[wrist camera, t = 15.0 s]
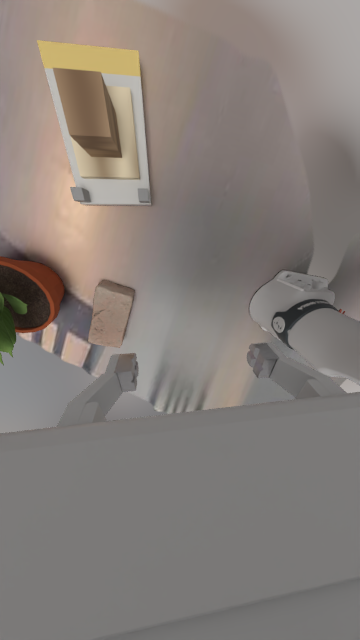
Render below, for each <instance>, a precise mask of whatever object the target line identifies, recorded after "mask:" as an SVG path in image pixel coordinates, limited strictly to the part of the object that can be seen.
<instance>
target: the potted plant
mask: <svg viewBox="0 0 360 640" xmlns="http://www.w3.org/2000/svg"><path fill="white" fill-rule="evenodd" d="M63 295H64V285H63V283H62V280H61V279H60V277H59V276H58V275H57V274H56V273H55V272H54V271H53V270H52V269H50V268H49V267H47V266H45V265H43V264H41V263H37V262H33V261H20V260H13V259H9V258H5V257H0V351H3V352H9V354H10V355H11V356H12V350H13V347H14V344H15V342H16V332H20V333H28V332H36V331H39V330H42V329H44V328H46V327H47V326H48V325H49V324H50V323H51V322H52V321H53V320H54V319H55V318H56V317H57V315H58V313H59V310H60V302H61V300H62V298H63ZM12 357H13V356H12ZM1 358H2V355H1V353H0V362H1V363H2V364H3V361H2V359H1ZM3 365H4V364H3Z"/></svg>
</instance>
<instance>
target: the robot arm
mask: <svg viewBox="0 0 360 640" xmlns="http://www.w3.org/2000/svg"><path fill="white" fill-rule="evenodd" d="M286 276H287V277H286ZM334 300H335V295H334V292H333V291H331V290H328V280H327V279H326V278H323V277H318V276H313V275H308V274H303V273H297V272H292V271H287V270H282V271H280V272H279V273H278V274H277V275H276V276H275V277H274V279H273V280H271V281H270V282H268V283H267V284H265V285H264V286H262V287H261V288H260V289H259V290H258V291H257V292H256V294H255V295H254V297H253V298H252V300H251V303H250V308H249V311H250V315H251V317H252V319H253V320H254V321H256V322H257V323H259V325H260V327H261V328H262V329H263V330H264V331H268V332H270V333H271V334H272V335H274V336H275V337H276V338H278V339H279V340H281V341H282V342H283V343H284V344H285V345H286V346H288V347H289V348H291V349H293V350H295V351H296V352H297V353H298V354H299V355H300V356H302V357H303V358H304V359H305V360H306V361H307V362H308V363H309V364H310V365H311V366H312V367H313V368H314V369H316V370H317V371H316V370H314V369H312V368H310V367H308V366H306V365H304V364H301V363H299V362H297V361H295V360H293V359H291V358H287V357H286V356H285V355H284V354H283V353H282V352H281V351H280V350H279V349H278V348H277V346H276V345H275V344H274V343H272V342H267V343H257V344H251V345H250V346H249V349H250V351H249V352H248V353H247V361H248V364H249V365H250V366H251V367H253V372H254V373H255V375H256V376H257V378H269V377H270V379H271V380H273V381H274V382H275V383H277V384H278V385H279V386H281V387H282V388H283V389H285V390H286V391H287V392H289V393H290V394H291V395H293V396H294V397H295V398H296V399H294V400H286V401H277V402H268V403H260V404H251V405H243V406H234V407H226V408H217V409H208V410H199V411H191V412H182V413H173V414H165V415H156V416H147V417H140V418H130V419H121V420H113V421H106V419H105V415H106V414H107V413H108V411H109V410H110V409H111V407H112V406H113V405H114V403H115V402H116V401H117V400H118V398H119V397H120V396H121V394H122V392H128V391H136V386H137V379H136V378H137V376H138V362H137V361H136V358H137V357H136V354H135V353H130V354H115V355H112V356H111V358H110V361H109V363H108V366H107V369H106V372H105V374H102V375H101V376H100V377H99V378H97V379H96V380H95V381H94V382H93V383H92V384H91V385H89V386H88V387H87V388H86V389H85V390H84V391H82V392H81V393H80V394H79V395H78V396H77V397H76V398H74V399H73V400H72V401H71V402H70V403H69V404H68V405H67V407H66V409H65V411H64V413H63V415H62V417H61V419H60V421H59V423H58V425H57V427H52V428H43V429H35V430H26V431H17V432H9V433H0V640H360V392H355V393H346V392H345V391H344V390H343V389H342V388H341V387H340V386H339V385H337V384H336V383H335V382H334V381H333V380H332V379H331V378H330V377H345V378H347V379H349V380H351V381H353V382H355V383H357V384H358V385H360V322H359V321H357V320H355V319H353V318H350V317H348V316H346V315H344V313H345V311H344V312H343V313H341V311H342V309H340V310H339V311H338V310H337V309H336V308H335V307H334V306H333V304H334ZM328 376H330V377H328Z"/></svg>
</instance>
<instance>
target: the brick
mask: <svg viewBox="0 0 360 640" xmlns="http://www.w3.org/2000/svg"><path fill="white" fill-rule="evenodd" d="M134 293H135V291H134V290H133V289H130V288H129V287H124V286H120V285H118V284H115V283H113V282H111V281H107V280H102V281H101V282H100V283H99V285H98V286H97V287H96V289H95V294H94V300H93V313H92V321H91V326H90V330H89V338H88V342H90V343H93V344H97V345H103V346H111V347H118V348H120V346H121V345H122V342H123V339H124V335H125V331H126V327H127V323H128V319H129V315H130V310H131V307H132V302H133V298H134Z"/></svg>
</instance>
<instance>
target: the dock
mask: <svg viewBox="0 0 360 640" xmlns="http://www.w3.org/2000/svg"><path fill="white" fill-rule="evenodd" d="M37 42H38V46H39V50H40V53H41V57H42V61H43V65H44V68H45V72H46V76H47V80H48V83H49V87H50V91H51V95H52V98H53V102H54V106H55V109H56V113H57V117H58V121H59V124H60V128H61V132H62V136H63V139H64V143H65V147H66V151H67V154H68V158H69V162H70V166H71V169H72V173H73V177H74V181H75V184H76V187H70V188H71V192H72V195H73V199H74V201H78V202H80V203H81V204H83V205H93V206H151V196H150V183H149V171H148V158H147V146H146V134H145V121H144V109H143V96H142V84H141V71H140V62H139V52H138V51H135V50H126V49H116V48H106V47H97V46H87V45H77V44H68V43H58V42H48V41H39V40H37ZM53 68H64V69H75V70H86V71H97V72H101V74H102V77H103V79H104V82H105V85H106V86H117V87H129V88H130V90H131V95H132V105H133V114H134V124H135V134H136V144H137V153H138V163H139V173H140V180H120V179H84V178H82V177H80V173H79V169H78V165H77V161H76V157H75V153H74V149H73V145H72V141H71V137H70V135H69V131H68V127H67V123H66V119H65V115H64V111H63V107H62V103H61V99H60V95H59V91H58V87H57V83H56V80H55V76H54V72H53Z"/></svg>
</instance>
